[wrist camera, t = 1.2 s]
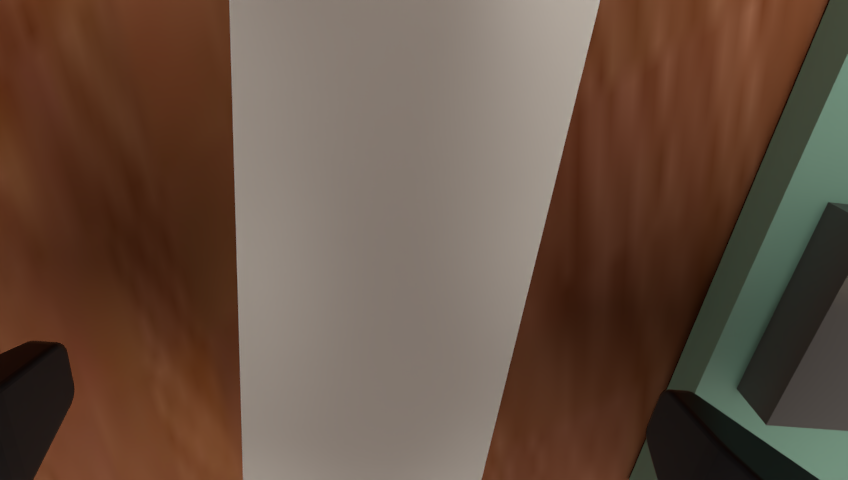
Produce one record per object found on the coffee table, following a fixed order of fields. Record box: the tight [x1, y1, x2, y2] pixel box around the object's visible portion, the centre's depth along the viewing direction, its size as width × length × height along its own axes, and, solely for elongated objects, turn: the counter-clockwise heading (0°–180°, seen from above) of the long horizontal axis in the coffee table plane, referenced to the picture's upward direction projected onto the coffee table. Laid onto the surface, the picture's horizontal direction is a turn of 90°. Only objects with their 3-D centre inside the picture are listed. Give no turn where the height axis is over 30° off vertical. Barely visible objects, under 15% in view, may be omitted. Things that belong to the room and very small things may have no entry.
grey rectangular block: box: [229, 0, 600, 480], centre depth 10 cm, size 4×13×5 cm, turn 173°
